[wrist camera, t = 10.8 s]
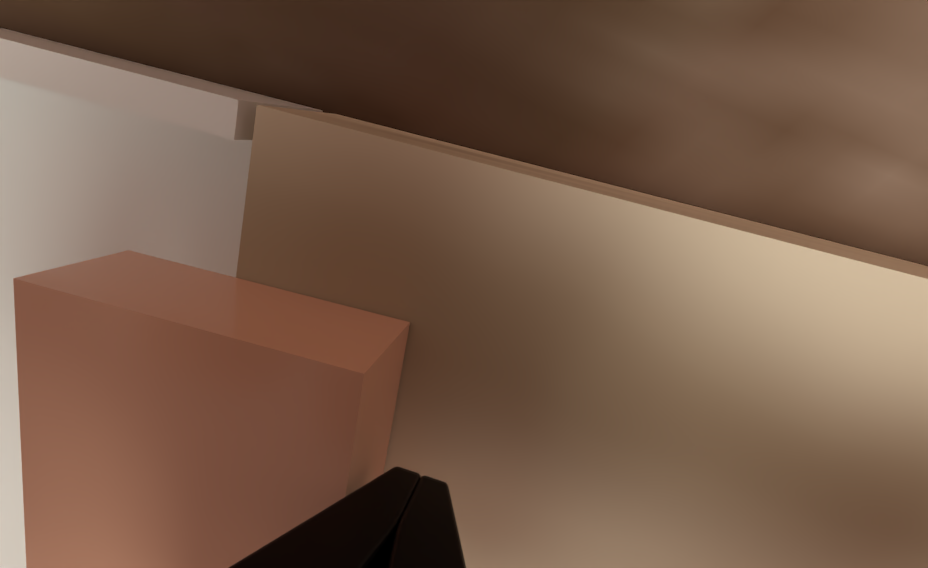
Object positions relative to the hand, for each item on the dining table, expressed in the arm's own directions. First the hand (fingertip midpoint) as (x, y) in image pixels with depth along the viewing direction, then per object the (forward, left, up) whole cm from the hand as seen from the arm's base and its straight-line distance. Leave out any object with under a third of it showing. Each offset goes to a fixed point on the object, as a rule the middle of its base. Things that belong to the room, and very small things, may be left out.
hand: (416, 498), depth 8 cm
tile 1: (0, +3, -1) cm, 4 cm away
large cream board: (-5, -2, -4) cm, 7 cm away
